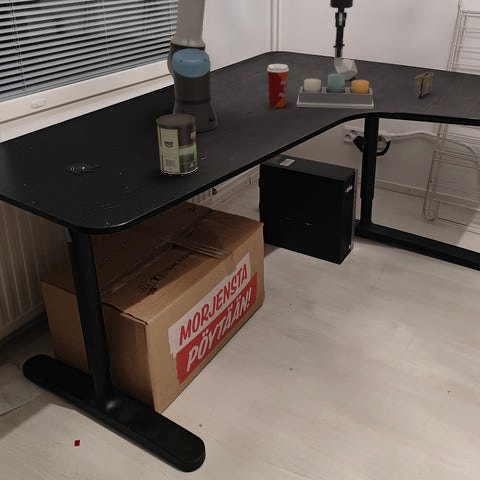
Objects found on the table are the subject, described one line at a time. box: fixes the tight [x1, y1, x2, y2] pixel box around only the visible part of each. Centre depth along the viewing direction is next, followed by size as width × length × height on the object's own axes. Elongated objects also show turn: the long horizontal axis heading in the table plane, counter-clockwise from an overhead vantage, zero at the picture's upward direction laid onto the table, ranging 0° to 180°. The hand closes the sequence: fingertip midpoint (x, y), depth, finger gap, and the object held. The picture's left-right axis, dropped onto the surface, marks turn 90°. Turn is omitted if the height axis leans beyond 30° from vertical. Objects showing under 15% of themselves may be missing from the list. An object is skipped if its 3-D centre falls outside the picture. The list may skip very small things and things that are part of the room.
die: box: [334, 58, 358, 82], centre depth 247 cm, size 8×9×10 cm
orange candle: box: [351, 79, 370, 94], centre depth 216 cm, size 6×6×6 cm
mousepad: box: [66, 162, 102, 175], centre depth 168 cm, size 9×8×1 cm
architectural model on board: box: [412, 71, 434, 97], centre depth 225 cm, size 11×3×10 cm, turn 143°
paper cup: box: [266, 63, 290, 108], centre depth 215 cm, size 8×8×14 cm
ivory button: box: [303, 78, 322, 92], centre depth 219 cm, size 6×6×6 cm
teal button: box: [327, 72, 346, 93], centre depth 217 cm, size 6×6×6 cm
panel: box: [296, 85, 375, 110], centre depth 219 cm, size 27×13×4 cm, turn 82°
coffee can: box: [155, 113, 199, 174], centre depth 164 cm, size 10×10×14 cm
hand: (337, 66), depth 214 cm, fingers closed
